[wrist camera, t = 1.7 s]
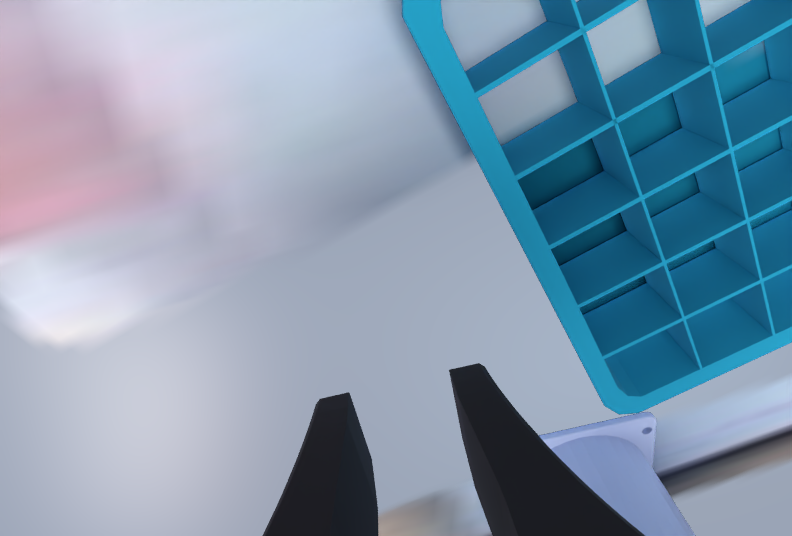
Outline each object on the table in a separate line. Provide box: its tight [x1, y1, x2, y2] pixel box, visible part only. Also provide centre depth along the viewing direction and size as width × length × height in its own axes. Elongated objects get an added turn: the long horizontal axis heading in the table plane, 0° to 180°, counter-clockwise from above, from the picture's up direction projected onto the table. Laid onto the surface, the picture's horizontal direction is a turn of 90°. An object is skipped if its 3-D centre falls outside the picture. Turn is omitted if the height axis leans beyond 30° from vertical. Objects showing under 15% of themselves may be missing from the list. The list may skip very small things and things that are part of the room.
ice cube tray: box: [402, 0, 792, 414], centre depth 19 cm, size 12×20×3 cm, turn 30°
